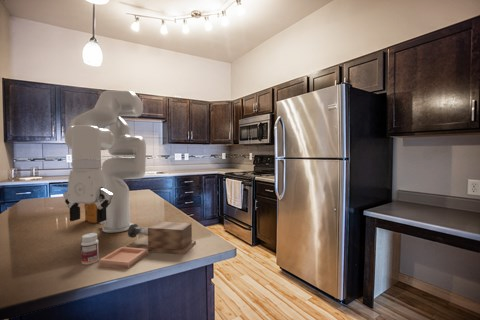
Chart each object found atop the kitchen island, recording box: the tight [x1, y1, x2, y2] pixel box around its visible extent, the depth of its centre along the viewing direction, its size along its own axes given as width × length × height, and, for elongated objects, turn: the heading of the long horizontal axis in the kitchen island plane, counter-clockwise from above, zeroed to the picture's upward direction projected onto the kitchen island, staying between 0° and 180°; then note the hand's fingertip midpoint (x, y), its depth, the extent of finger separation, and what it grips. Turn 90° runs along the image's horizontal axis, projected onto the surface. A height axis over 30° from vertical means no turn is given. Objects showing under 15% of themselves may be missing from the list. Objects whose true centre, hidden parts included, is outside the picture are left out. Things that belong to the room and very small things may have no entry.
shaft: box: [127, 223, 148, 239], centre depth 88 cm, size 13×5×5 cm, turn 78°
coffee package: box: [84, 202, 102, 224], centre depth 121 cm, size 10×12×22 cm
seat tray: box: [98, 246, 149, 269], centre depth 76 cm, size 10×10×2 cm
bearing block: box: [125, 221, 197, 255], centre depth 87 cm, size 22×10×8 cm, turn 78°
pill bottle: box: [80, 232, 100, 265], centre depth 75 cm, size 5×5×8 cm
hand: (88, 220), depth 74 cm, fingers open, 9 cm apart
